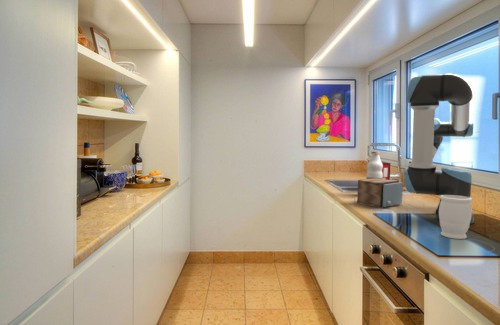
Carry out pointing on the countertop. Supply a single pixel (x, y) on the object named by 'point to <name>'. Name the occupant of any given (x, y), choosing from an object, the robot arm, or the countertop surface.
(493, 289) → the countertop surface
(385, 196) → the door
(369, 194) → the cabinet
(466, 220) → the jar
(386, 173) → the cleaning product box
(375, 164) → the white ceramic bottle shape
